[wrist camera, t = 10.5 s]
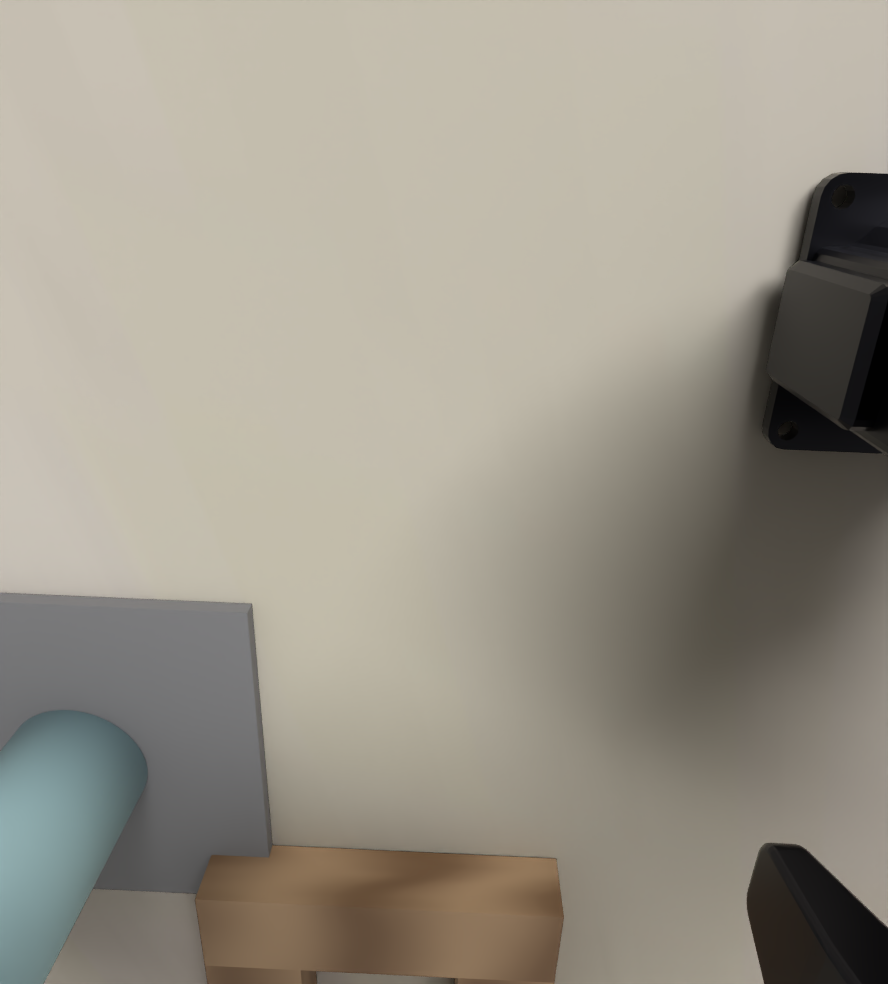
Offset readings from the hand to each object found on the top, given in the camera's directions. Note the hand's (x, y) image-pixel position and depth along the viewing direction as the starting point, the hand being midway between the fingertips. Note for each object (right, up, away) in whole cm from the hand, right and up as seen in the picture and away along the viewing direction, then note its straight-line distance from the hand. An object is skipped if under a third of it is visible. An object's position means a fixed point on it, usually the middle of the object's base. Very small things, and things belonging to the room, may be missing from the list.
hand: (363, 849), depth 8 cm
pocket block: (-1, -14, +20) cm, 24 cm away
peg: (-11, -5, +15) cm, 19 cm away
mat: (-11, -5, +16) cm, 20 cm away
